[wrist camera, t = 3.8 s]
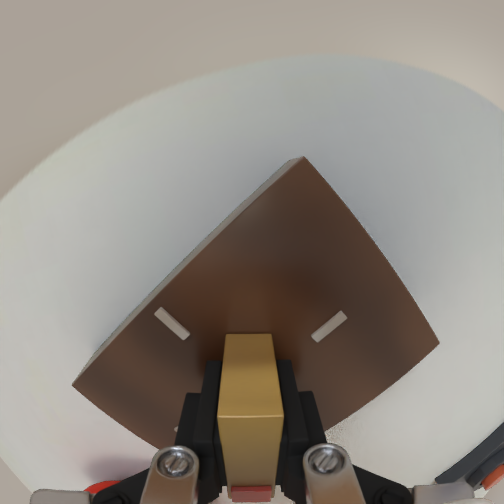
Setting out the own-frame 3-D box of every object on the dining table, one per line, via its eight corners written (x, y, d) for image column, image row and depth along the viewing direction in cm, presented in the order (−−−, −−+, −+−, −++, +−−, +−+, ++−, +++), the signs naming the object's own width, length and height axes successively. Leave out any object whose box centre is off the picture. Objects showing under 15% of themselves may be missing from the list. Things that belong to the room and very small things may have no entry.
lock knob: (225, 333, 10) (216, 423, 6) (271, 333, 10) (285, 422, 6) (231, 425, 11) (228, 504, 7) (267, 424, 11) (274, 503, 7)
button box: (513, 411, 18) (530, 431, 14) (515, 433, 20) (527, 449, 16) (434, 479, 20) (446, 501, 16) (450, 487, 22) (459, 505, 18)
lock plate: (289, 159, 11) (305, 154, 8) (411, 314, 13) (442, 345, 10) (94, 353, 14) (69, 387, 11) (223, 446, 16) (220, 484, 13)
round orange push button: (502, 460, 16) (508, 469, 14) (503, 465, 17) (508, 473, 15) (478, 480, 16) (484, 489, 15) (481, 483, 17) (486, 491, 15)
